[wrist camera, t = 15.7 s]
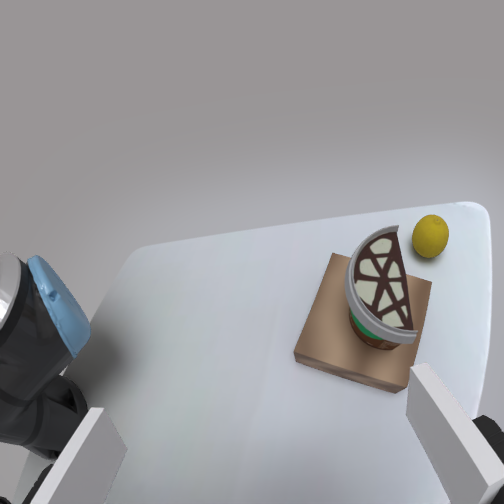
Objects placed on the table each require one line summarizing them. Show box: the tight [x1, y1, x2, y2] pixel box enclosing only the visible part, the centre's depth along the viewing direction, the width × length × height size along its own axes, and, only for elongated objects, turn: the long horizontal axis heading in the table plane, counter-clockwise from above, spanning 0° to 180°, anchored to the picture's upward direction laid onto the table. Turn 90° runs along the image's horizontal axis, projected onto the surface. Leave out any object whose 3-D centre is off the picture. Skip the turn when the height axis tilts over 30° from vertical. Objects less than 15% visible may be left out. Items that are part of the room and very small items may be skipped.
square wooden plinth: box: [294, 253, 432, 394], centre depth 39 cm, size 14×14×6 cm
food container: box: [345, 225, 418, 350], centre depth 32 cm, size 12×6×10 cm, turn 177°
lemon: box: [412, 215, 449, 258], centre depth 42 cm, size 6×6×8 cm
